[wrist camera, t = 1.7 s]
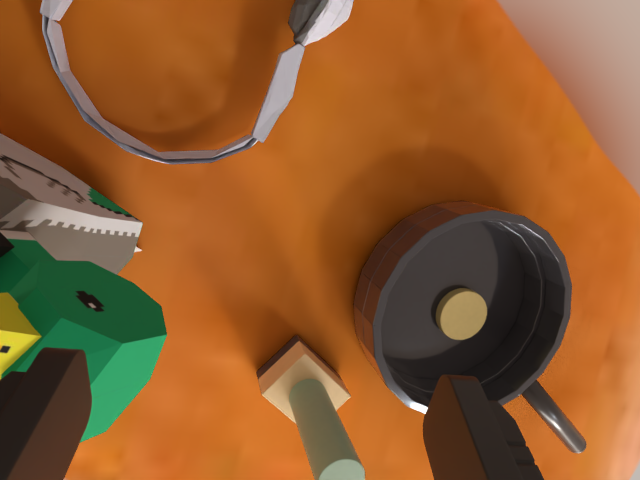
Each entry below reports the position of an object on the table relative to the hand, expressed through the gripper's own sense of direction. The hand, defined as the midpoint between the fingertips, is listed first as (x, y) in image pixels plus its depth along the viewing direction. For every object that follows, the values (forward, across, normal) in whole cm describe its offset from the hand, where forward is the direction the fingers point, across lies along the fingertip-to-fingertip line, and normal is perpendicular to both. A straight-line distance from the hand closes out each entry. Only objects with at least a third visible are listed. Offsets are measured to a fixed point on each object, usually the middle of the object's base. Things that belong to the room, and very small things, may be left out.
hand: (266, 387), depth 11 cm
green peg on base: (+17, -3, +18) cm, 25 cm away
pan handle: (+17, -24, +20) cm, 35 cm away
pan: (+21, -14, +12) cm, 28 cm away
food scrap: (+20, -15, +13) cm, 28 cm away
